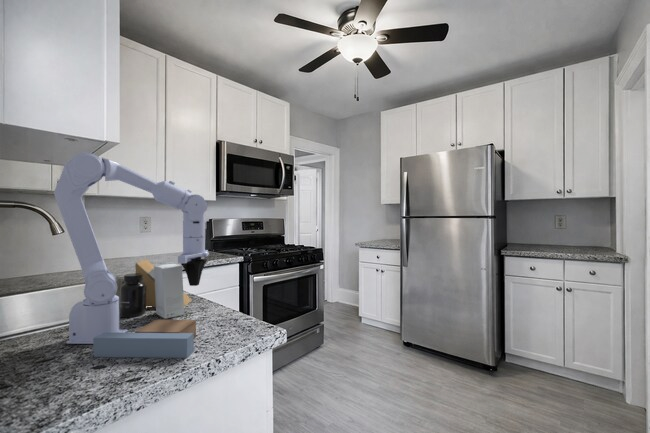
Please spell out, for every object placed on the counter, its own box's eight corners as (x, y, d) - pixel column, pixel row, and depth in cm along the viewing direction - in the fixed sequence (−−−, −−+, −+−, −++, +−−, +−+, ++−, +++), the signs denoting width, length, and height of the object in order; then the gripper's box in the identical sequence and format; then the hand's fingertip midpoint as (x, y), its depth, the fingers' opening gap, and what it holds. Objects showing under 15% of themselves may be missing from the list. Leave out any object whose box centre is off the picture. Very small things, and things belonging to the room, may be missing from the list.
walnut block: (134, 352, 68) (134, 331, 68) (156, 337, 76) (155, 319, 76) (179, 352, 68) (179, 332, 68) (196, 338, 76) (195, 319, 76)
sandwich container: (186, 306, 102) (185, 261, 101) (135, 309, 99) (134, 262, 99) (192, 299, 110) (192, 257, 110) (146, 301, 108) (146, 258, 108)
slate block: (93, 356, 65) (93, 337, 65) (104, 350, 68) (104, 332, 68) (187, 357, 65) (187, 338, 65) (193, 351, 68) (193, 333, 68)
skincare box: (184, 315, 92) (184, 265, 92) (162, 320, 88) (162, 267, 88) (174, 309, 98) (174, 262, 98) (153, 313, 94) (153, 264, 94)
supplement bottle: (117, 319, 89) (117, 277, 89) (122, 312, 95) (121, 273, 95) (145, 316, 92) (144, 275, 92) (147, 309, 98) (147, 271, 98)
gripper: (196, 239, 80) (196, 291, 80) (217, 235, 95) (217, 279, 95) (169, 239, 81) (170, 291, 81) (194, 235, 95) (195, 279, 95)
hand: (194, 285), depth 88 cm, fingers closed
